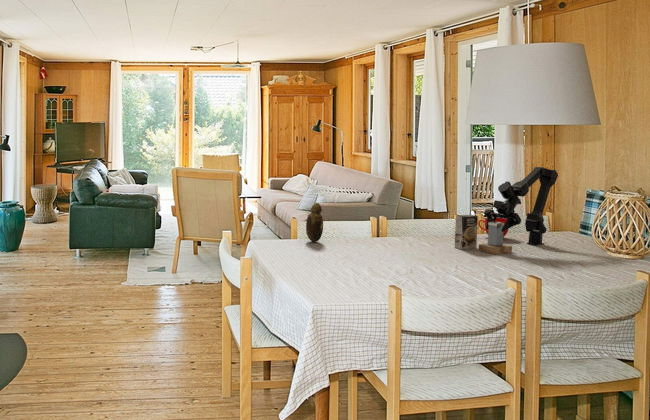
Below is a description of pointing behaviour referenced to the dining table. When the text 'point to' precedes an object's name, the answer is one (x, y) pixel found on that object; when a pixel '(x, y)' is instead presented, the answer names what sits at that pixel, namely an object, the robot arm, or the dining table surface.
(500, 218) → the ceramic cup
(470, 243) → the coffee box
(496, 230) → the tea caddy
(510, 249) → the tan wooden flat block
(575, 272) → the dining table surface
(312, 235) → the sculpture
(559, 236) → the dining table surface
